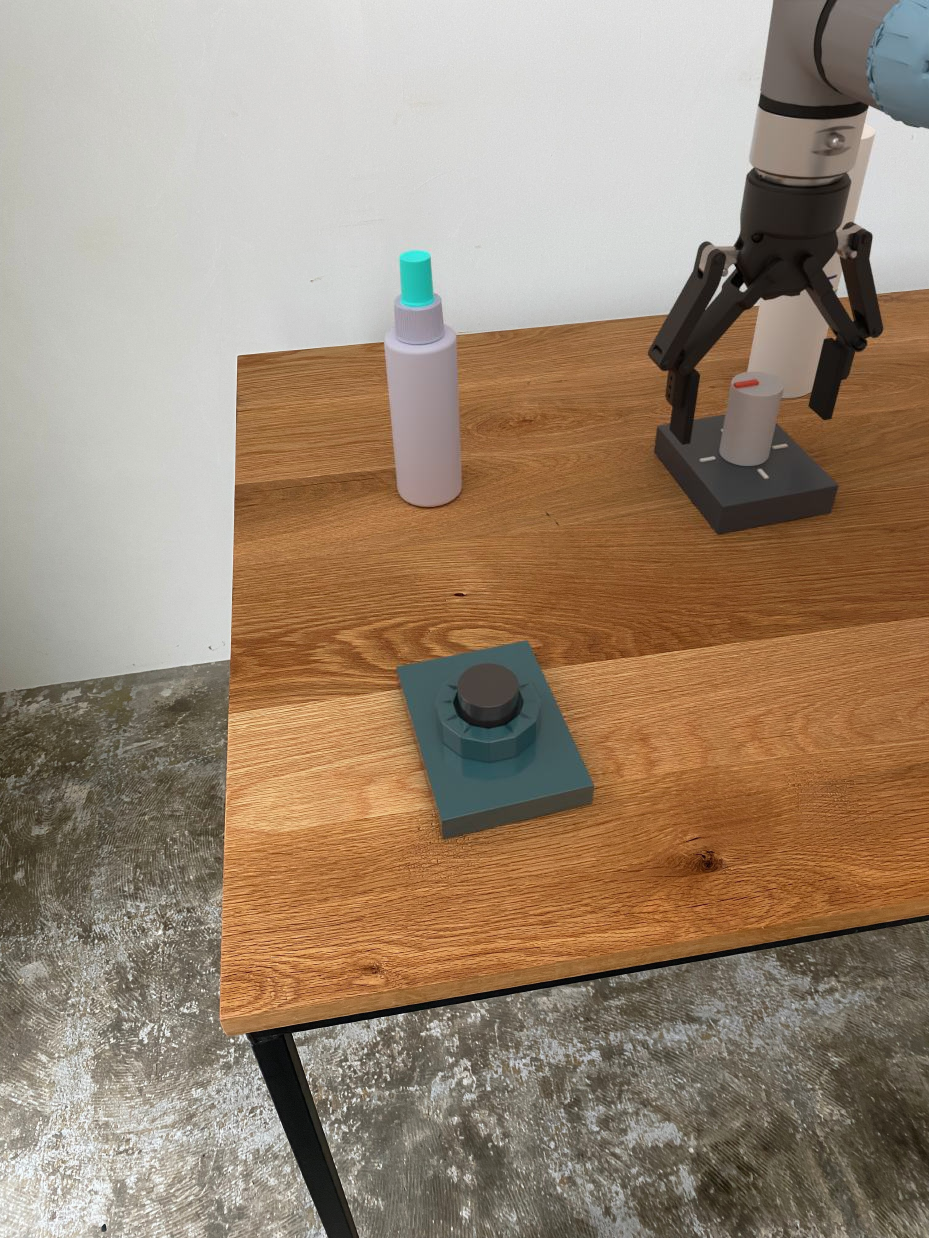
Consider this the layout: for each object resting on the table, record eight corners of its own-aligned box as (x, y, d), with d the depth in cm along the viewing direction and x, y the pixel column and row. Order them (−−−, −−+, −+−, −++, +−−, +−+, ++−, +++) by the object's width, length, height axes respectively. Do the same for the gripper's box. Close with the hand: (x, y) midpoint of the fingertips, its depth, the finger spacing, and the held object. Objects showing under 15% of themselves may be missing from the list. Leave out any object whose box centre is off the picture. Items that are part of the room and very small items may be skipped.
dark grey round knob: (525, 721, 61) (526, 699, 60) (466, 734, 61) (466, 712, 59) (508, 679, 64) (508, 657, 63) (452, 691, 64) (450, 669, 62)
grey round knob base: (592, 804, 61) (596, 764, 58) (442, 839, 59) (439, 800, 56) (527, 658, 71) (528, 619, 68) (398, 685, 69) (393, 646, 66)
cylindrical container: (732, 376, 102) (775, 126, 86) (782, 360, 105) (835, 114, 88) (776, 404, 98) (832, 146, 81) (828, 387, 100) (893, 132, 83)
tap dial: (754, 437, 87) (768, 365, 82) (777, 461, 84) (794, 388, 79) (710, 444, 87) (723, 372, 82) (733, 469, 83) (747, 396, 78)
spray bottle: (468, 504, 86) (460, 266, 71) (403, 513, 85) (381, 275, 70) (455, 469, 90) (445, 238, 76) (393, 477, 90) (371, 246, 75)
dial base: (831, 513, 83) (839, 483, 81) (717, 534, 81) (723, 504, 79) (756, 434, 93) (762, 406, 91) (653, 452, 92) (657, 423, 89)
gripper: (663, 206, 64) (635, 469, 78) (980, 166, 68) (900, 423, 83) (622, 174, 70) (603, 425, 84) (918, 139, 74) (852, 384, 88)
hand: (750, 424), depth 83 cm, fingers open, 13 cm apart
